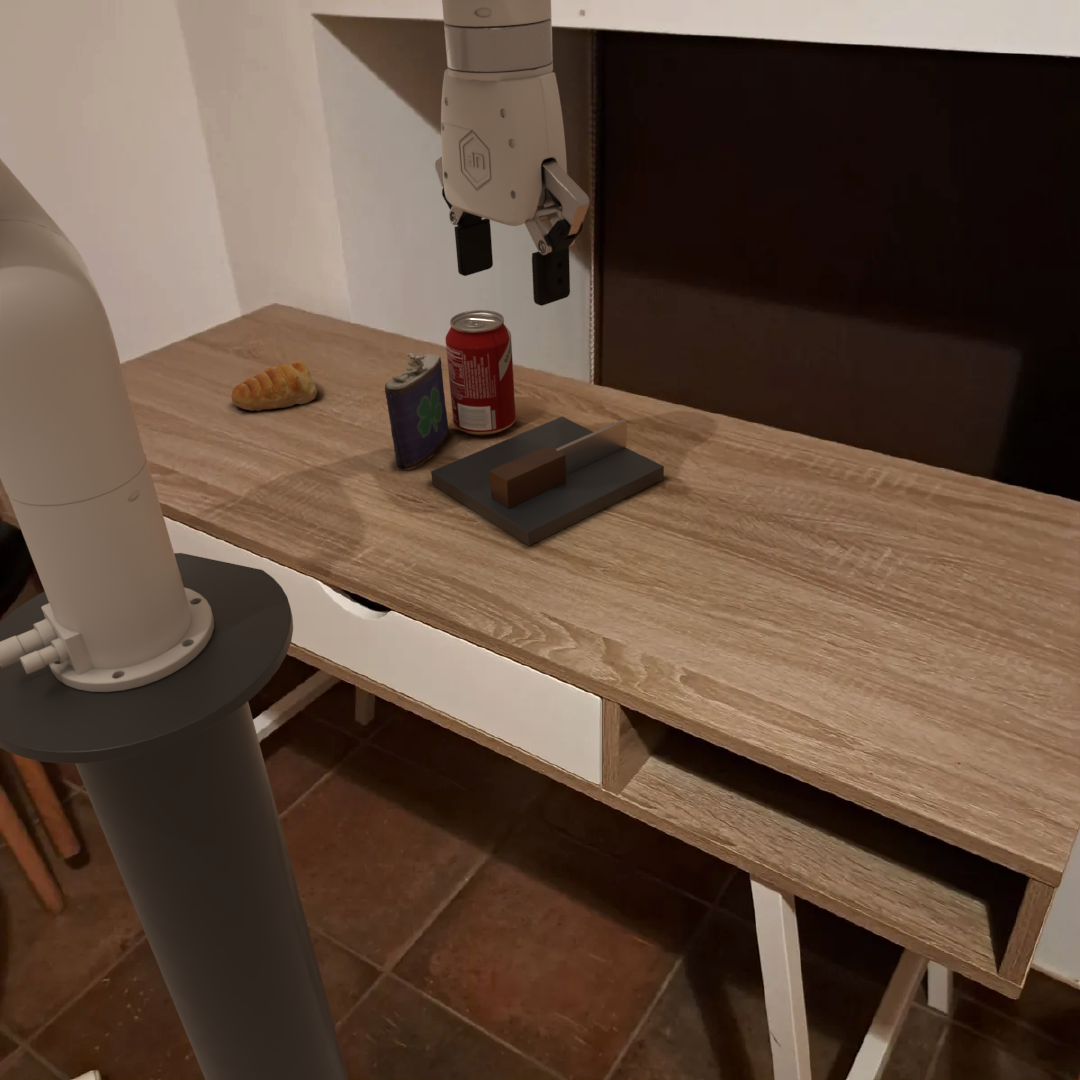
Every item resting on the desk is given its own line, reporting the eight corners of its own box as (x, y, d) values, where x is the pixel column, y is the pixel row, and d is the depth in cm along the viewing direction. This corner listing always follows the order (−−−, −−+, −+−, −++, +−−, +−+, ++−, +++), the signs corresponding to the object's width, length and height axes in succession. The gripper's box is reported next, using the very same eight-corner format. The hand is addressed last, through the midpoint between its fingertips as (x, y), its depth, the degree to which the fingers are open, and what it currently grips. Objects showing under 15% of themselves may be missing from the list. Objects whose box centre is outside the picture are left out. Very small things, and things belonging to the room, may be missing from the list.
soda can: (495, 444, 106) (487, 336, 99) (441, 432, 109) (430, 326, 102) (527, 418, 111) (522, 313, 104) (475, 406, 113) (467, 304, 107)
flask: (432, 428, 109) (422, 335, 103) (457, 432, 108) (448, 338, 102) (390, 468, 102) (376, 370, 96) (415, 473, 101) (403, 374, 95)
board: (528, 546, 90) (528, 532, 89) (432, 484, 99) (430, 471, 98) (663, 479, 98) (664, 466, 98) (562, 428, 108) (562, 416, 107)
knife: (508, 509, 92) (506, 480, 90) (491, 498, 94) (488, 470, 92) (634, 450, 100) (634, 423, 99) (616, 441, 102) (616, 415, 100)
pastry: (242, 420, 113) (235, 389, 111) (226, 399, 118) (219, 369, 116) (322, 400, 116) (317, 369, 114) (304, 380, 121) (298, 350, 119)
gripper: (388, 46, 75) (413, 272, 85) (537, 69, 64) (546, 326, 73) (469, 34, 79) (484, 251, 88) (622, 53, 68) (621, 300, 77)
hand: (512, 285), depth 81 cm, fingers open, 9 cm apart
